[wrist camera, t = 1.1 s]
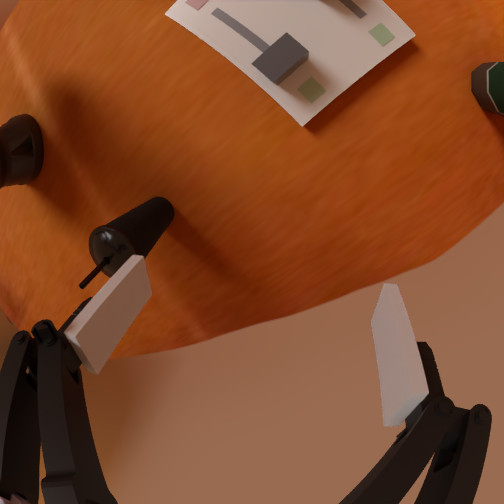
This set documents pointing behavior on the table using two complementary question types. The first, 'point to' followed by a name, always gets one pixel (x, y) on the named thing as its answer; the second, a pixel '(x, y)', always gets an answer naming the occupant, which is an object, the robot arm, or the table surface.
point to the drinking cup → (128, 236)
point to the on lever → (281, 59)
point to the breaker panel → (307, 34)
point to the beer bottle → (489, 86)
